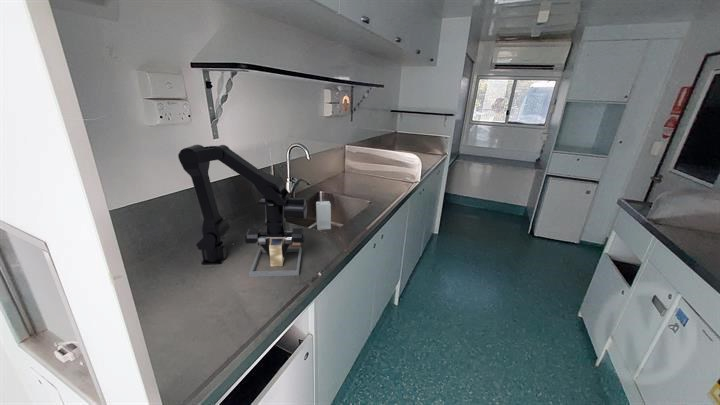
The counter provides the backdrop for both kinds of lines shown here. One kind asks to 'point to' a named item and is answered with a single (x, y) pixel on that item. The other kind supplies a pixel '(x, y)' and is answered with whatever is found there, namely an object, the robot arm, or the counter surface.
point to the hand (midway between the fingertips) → (277, 257)
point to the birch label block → (276, 252)
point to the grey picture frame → (275, 273)
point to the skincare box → (323, 215)
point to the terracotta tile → (289, 245)
